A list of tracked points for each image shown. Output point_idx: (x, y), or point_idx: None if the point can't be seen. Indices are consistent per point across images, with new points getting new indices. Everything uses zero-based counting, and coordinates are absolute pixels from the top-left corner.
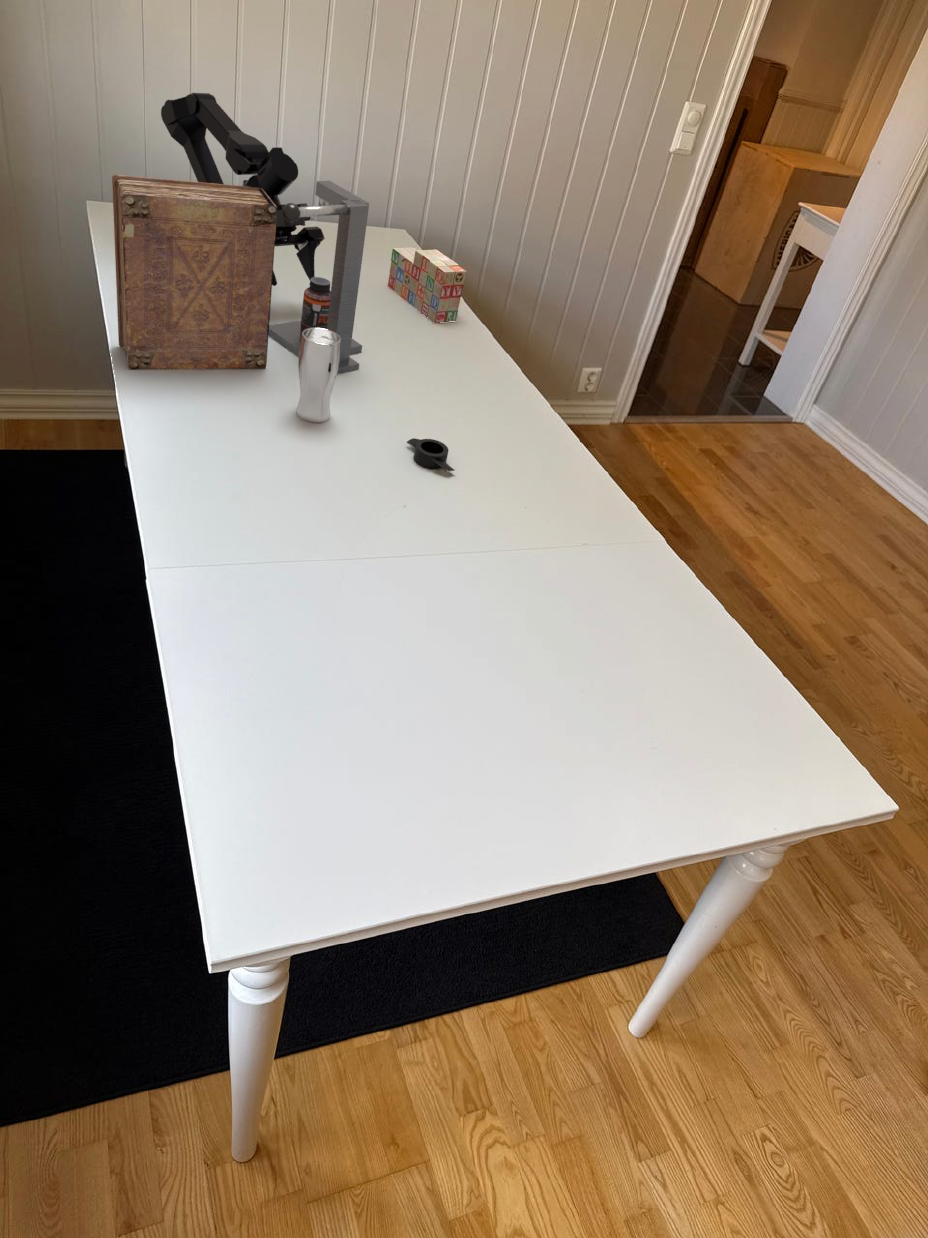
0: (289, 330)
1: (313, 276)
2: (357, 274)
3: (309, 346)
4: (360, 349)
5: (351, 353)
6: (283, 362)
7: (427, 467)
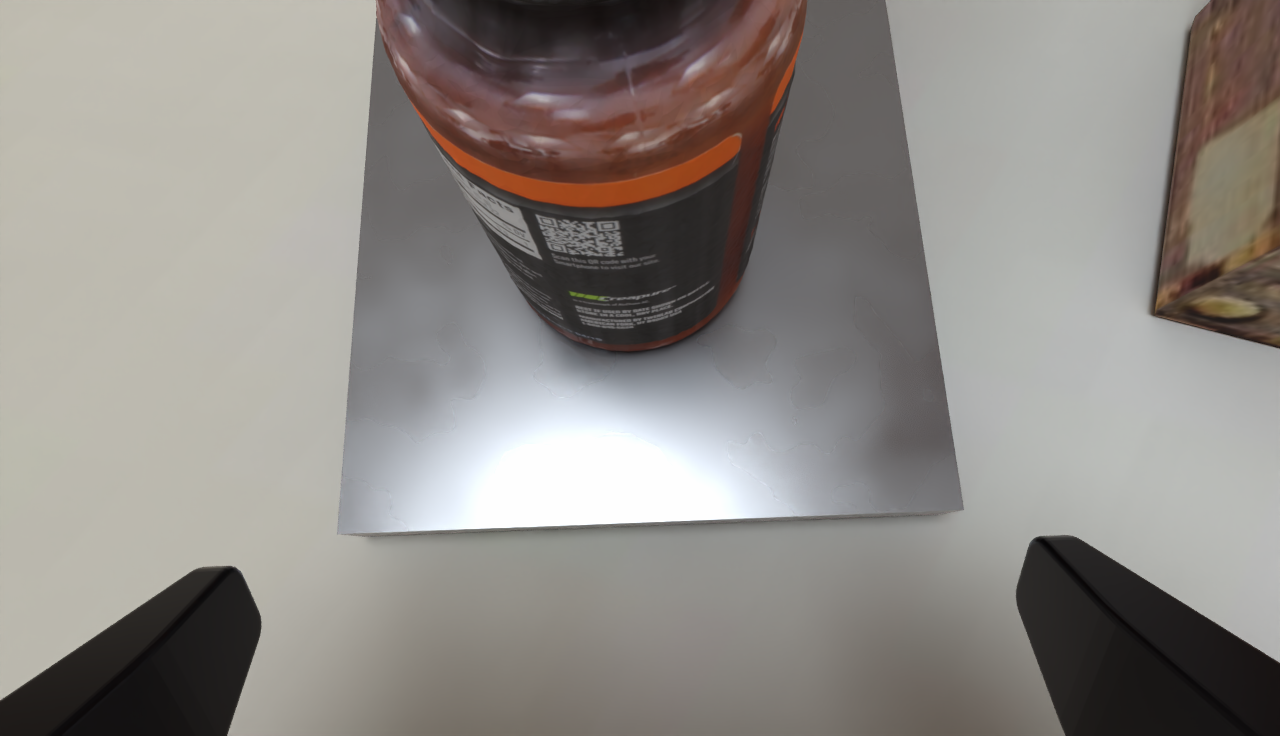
0: (795, 369)
1: (183, 592)
2: None
3: None
4: None
5: None
6: (1023, 71)
7: None
